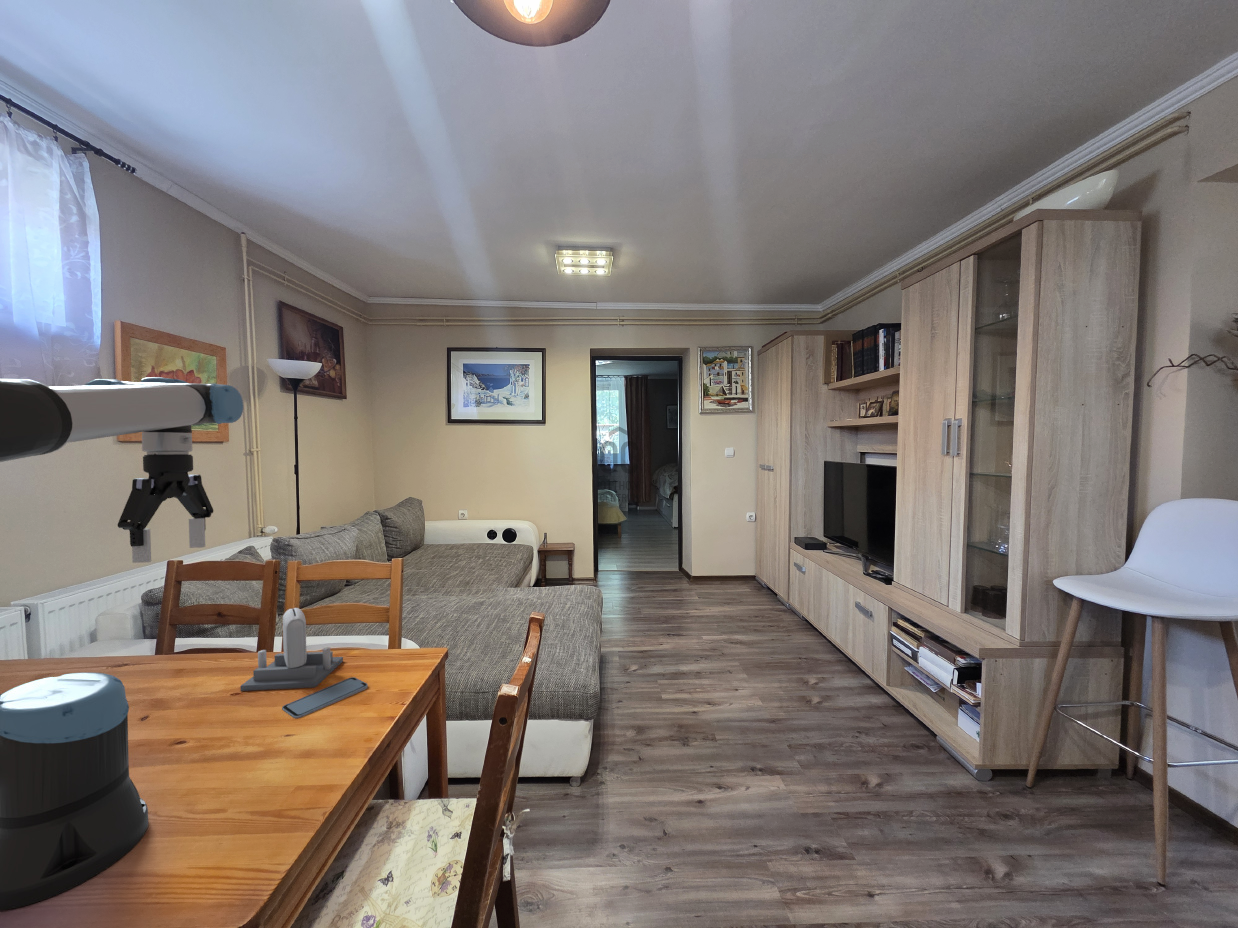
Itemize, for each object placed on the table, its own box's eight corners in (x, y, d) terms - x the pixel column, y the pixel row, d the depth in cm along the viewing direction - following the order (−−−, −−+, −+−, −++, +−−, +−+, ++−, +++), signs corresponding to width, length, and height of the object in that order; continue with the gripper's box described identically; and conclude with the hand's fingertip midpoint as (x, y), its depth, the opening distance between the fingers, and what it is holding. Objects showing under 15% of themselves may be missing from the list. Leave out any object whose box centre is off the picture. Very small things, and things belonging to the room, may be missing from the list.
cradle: (315, 686, 107) (315, 660, 106) (240, 690, 105) (239, 663, 105) (343, 661, 120) (342, 637, 119) (276, 664, 118) (275, 640, 118)
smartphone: (280, 706, 98) (352, 676, 111) (280, 711, 98) (353, 680, 111) (295, 717, 94) (369, 684, 107) (296, 722, 94) (369, 688, 107)
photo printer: (282, 655, 115) (281, 606, 114) (303, 650, 118) (302, 602, 117) (285, 670, 107) (284, 618, 106) (308, 665, 110) (306, 613, 109)
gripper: (132, 454, 85) (136, 569, 85) (231, 452, 109) (233, 541, 110) (86, 454, 84) (90, 570, 85) (196, 452, 109) (199, 542, 109)
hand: (171, 554), depth 97 cm, fingers open, 13 cm apart
